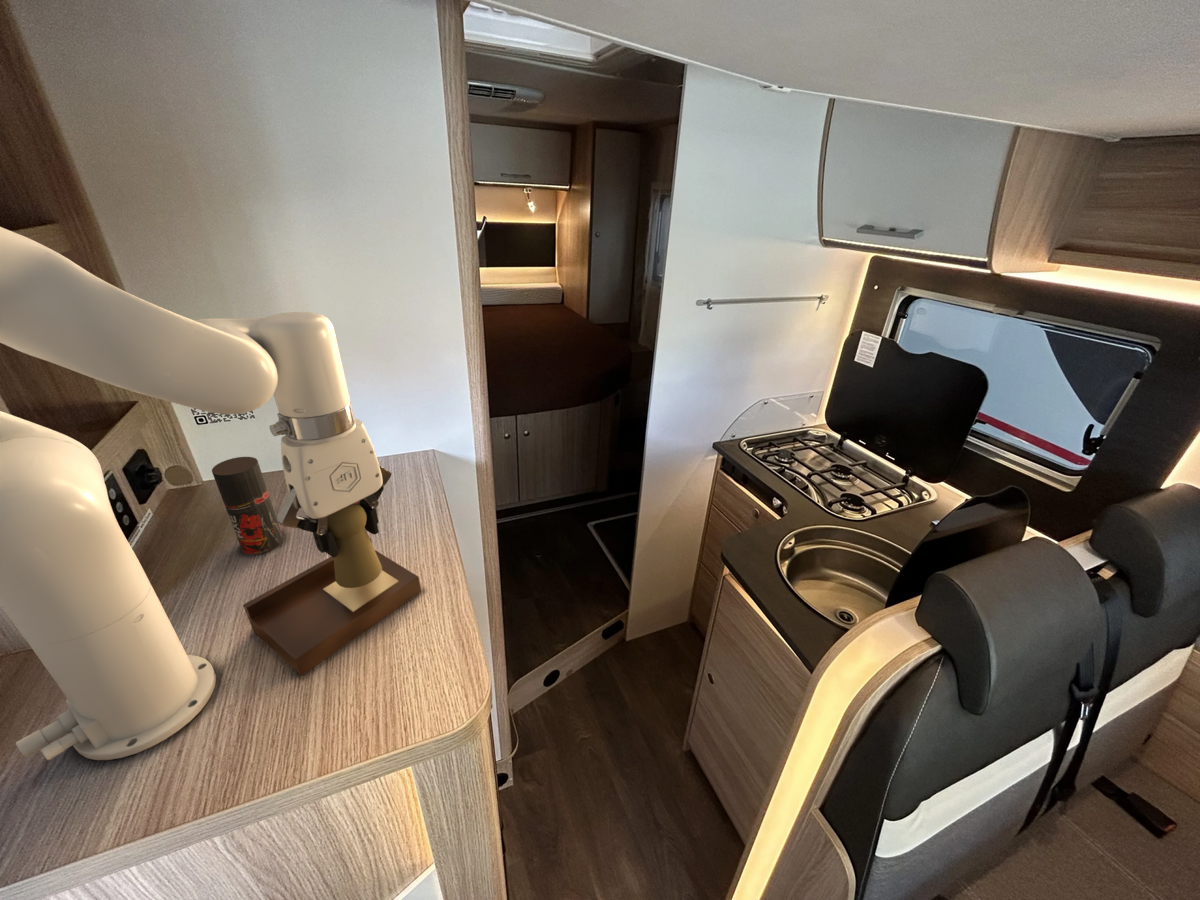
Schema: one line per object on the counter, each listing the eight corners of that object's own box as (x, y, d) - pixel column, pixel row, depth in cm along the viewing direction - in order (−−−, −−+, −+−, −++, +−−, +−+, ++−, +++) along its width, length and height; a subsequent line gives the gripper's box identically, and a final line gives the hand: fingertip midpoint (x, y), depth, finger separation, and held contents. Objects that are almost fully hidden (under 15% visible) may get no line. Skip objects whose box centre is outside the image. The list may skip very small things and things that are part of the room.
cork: (365, 591, 67) (348, 525, 62) (325, 584, 68) (305, 518, 63) (390, 562, 72) (376, 499, 67) (353, 556, 73) (337, 493, 68)
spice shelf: (301, 676, 61) (290, 647, 59) (253, 632, 67) (242, 604, 65) (421, 591, 75) (416, 565, 72) (373, 561, 81) (367, 536, 78)
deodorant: (290, 533, 86) (266, 458, 79) (266, 555, 81) (238, 476, 74) (258, 531, 87) (231, 455, 80) (232, 552, 81) (201, 473, 75)
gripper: (258, 455, 51) (302, 588, 60) (400, 405, 64) (420, 520, 72) (224, 436, 55) (271, 564, 63) (365, 392, 67) (388, 503, 76)
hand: (350, 540), depth 68 cm, fingers closed on cork, 5 cm apart
